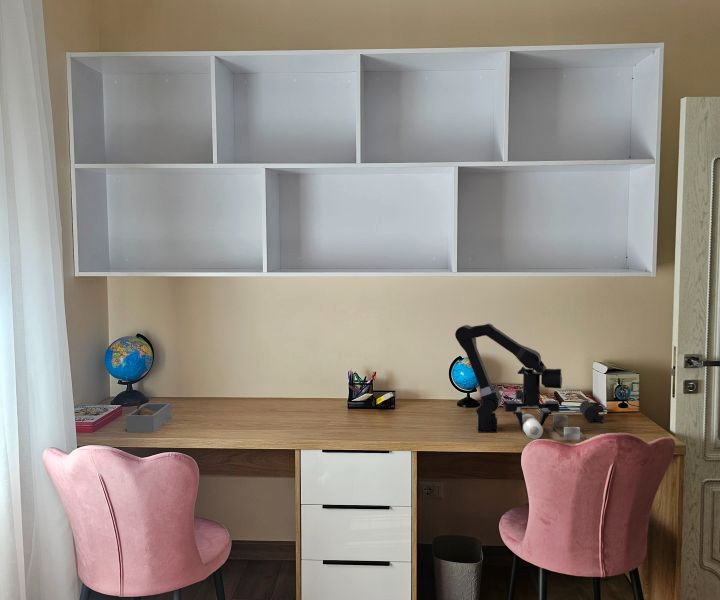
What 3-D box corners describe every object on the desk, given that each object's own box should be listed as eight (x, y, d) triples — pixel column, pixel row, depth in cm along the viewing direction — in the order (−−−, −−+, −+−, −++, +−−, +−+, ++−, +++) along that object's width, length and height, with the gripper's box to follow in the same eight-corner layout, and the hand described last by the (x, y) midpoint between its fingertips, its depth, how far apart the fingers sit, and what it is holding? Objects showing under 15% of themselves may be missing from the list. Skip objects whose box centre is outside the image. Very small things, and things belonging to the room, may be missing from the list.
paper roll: (524, 437, 243) (527, 420, 243) (517, 428, 255) (520, 412, 255) (541, 440, 243) (544, 423, 242) (534, 431, 255) (537, 415, 255)
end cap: (579, 417, 274) (579, 400, 274) (598, 417, 273) (598, 400, 273) (584, 423, 264) (584, 405, 264) (603, 424, 263) (604, 406, 263)
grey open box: (125, 424, 264) (125, 401, 264) (131, 421, 269) (131, 399, 268) (158, 427, 261) (158, 404, 260) (164, 424, 265) (164, 401, 264)
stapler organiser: (126, 432, 255) (126, 415, 254) (146, 418, 275) (145, 403, 274) (154, 432, 254) (153, 415, 254) (171, 418, 274) (170, 403, 274)
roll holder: (555, 442, 239) (556, 428, 238) (544, 428, 257) (544, 415, 256) (588, 442, 238) (588, 428, 238) (574, 428, 256) (575, 415, 256)
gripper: (553, 382, 255) (552, 424, 257) (501, 382, 256) (500, 424, 257) (560, 388, 244) (559, 432, 245) (506, 388, 245) (505, 432, 246)
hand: (530, 430), depth 249 cm, fingers closed on paper roll, 6 cm apart
